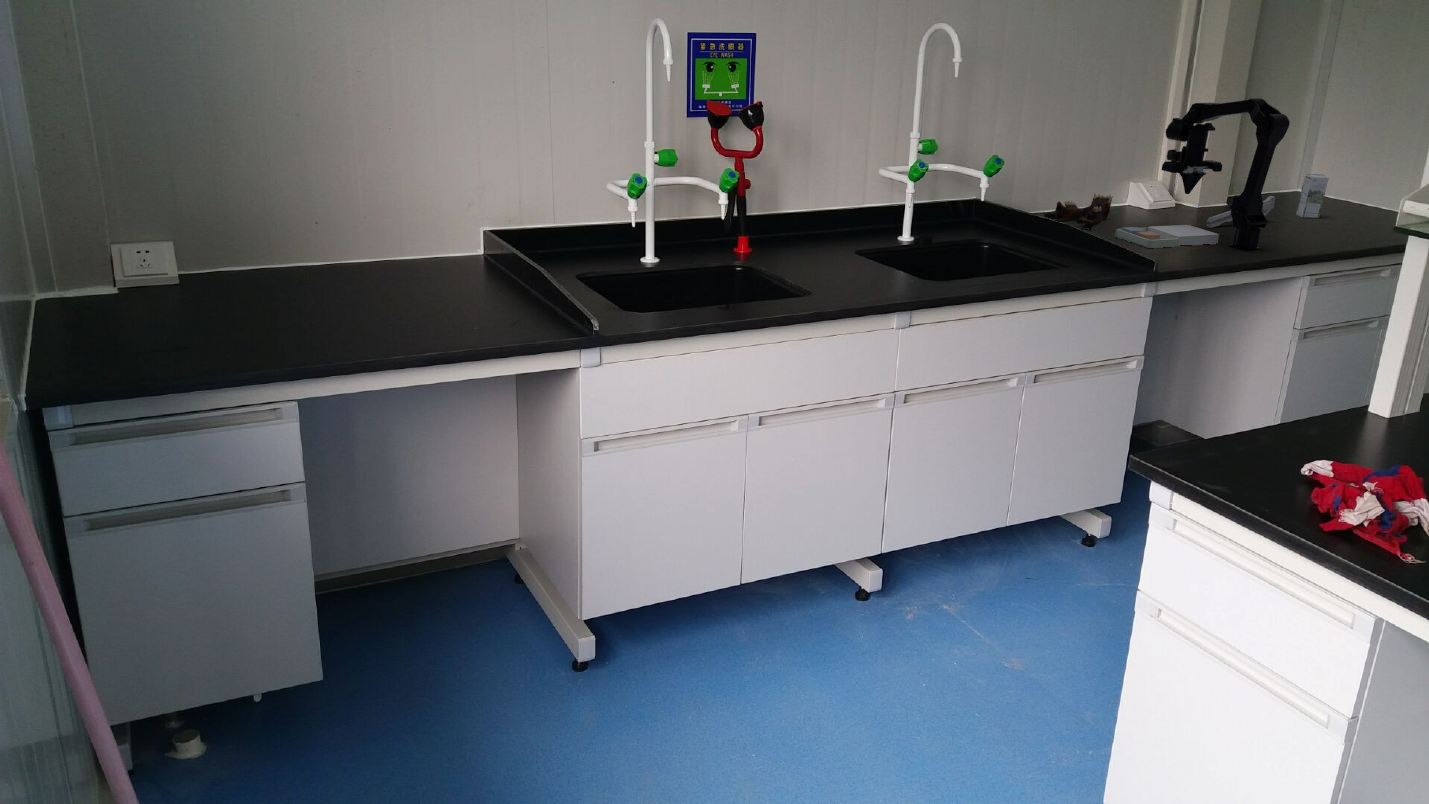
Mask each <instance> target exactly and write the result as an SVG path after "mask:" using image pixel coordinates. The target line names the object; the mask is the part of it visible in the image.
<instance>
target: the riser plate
mask: <svg viewBox="0 0 1429 804" xmlns="http://www.w3.org/2000/svg"><path fill="white" fill-rule="evenodd" d="M1147 231H1151V232H1154V233H1157V234H1160V239H1176V238H1178V239H1179V244H1178V245H1179V246H1178V247H1181V246H1180V245H1192V246H1204V245H1203V244H1210V245H1217V244H1218V241H1219V237H1220V234H1219V233H1216V232H1212V231H1210V230H1206V229H1203V228H1200V227H1196V226H1193V225H1190V224H1177V225H1172V224H1171V225H1154V226H1153V225H1152V226H1148V227H1147ZM1216 243H1217V244H1216Z"/></svg>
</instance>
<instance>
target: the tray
mask: <svg viewBox="0 0 1429 804" xmlns="http://www.w3.org/2000/svg"><path fill="white" fill-rule="evenodd" d="M1139 228H1140V229H1143V230H1146V231H1147V230H1148V227H1139ZM1116 237H1117V239H1120V240H1122V239H1124V240H1123V241H1125V240H1126V241H1125V242H1127V241H1128V243H1130V242H1133V243H1136V244H1139V245H1144V246H1146V247H1147V248H1154V249H1164V248H1163V247H1172V248H1179V246H1178V244H1179V239H1178V238H1176V239H1157V240H1149V239H1146V238H1143V237H1140V236H1137V235H1134V234H1131V233H1128V232H1126V231H1123V230H1122V228H1116V229H1115V232H1114V238H1116ZM1133 243H1132V244H1133ZM1136 244H1135V245H1136ZM1139 245H1138V246H1139ZM1147 248H1146V249H1147Z"/></svg>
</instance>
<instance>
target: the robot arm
mask: <svg viewBox="0 0 1429 804" xmlns="http://www.w3.org/2000/svg"><path fill="white" fill-rule="evenodd" d="M1241 114H1249V118H1250V121H1251V122H1252V123H1253V124H1254V125H1255V127H1256V129H1255V130H1256V131H1255V138H1256V141H1257V142H1256V143H1257V145H1256V149H1255V153H1254V155H1253V158H1252V162H1251V166H1250V169H1249V171H1248V174H1247V178H1246V181H1245V185H1244V188H1243V191H1242V192H1241V193H1240V194H1236V195H1234V196H1233V198H1232V203H1231V206H1230V207H1229V210H1230V211H1231V216H1232V221H1231V222H1232V227H1233V228H1235V229H1236V230H1235V231H1234V232H1235V233H1234V236H1233V241H1232V243H1229V244H1228V245H1230V246H1229V247H1232V246H1233V247H1232V248H1235V247H1236V249H1239V248H1241V249H1240V250H1242V249H1244V250H1243V251H1251V250H1250V249H1257V250H1262V247H1260V246H1258V245H1259V240H1260V235H1261V231H1262V230H1261V229H1265V228H1266V227H1267V225H1268V224H1269V222H1268V220H1267V217H1266V215H1265V216H1264V214H1263V212H1262V208H1263V201H1264V200H1263V196H1262V191H1263V189H1264V185H1265V182H1266V179H1267V175H1268V174H1269V173H1268V172H1269V169H1270V167H1271V163H1272V161H1273V156H1274V155H1275V154H1274V153H1275V151H1276V148H1277V146H1278V145H1279V143H1280V142H1281V141H1282V140H1283V139H1284V137H1285V135H1286V133H1287V132H1288V130H1289V127H1290V120H1289V117H1288V116H1287V115H1286V114H1284V113H1282V112H1281V111H1280V110H1279V109H1277V108H1275V107H1274V106H1272V105H1271V104H1269V103H1268V102H1267V101H1266V100H1265V99H1263V98H1261V97H1257V98H1248V99H1244V100H1239V101H1238V100H1236V101H1230V102H1222V103H1219V102H1196V103H1195V102H1194V103H1192V104H1191V105H1190V107H1189V110H1188V111H1187V112H1186V114H1185V115H1183V117H1182V118H1179V117H1173V118H1172V119H1171V120H1172V121H1171V122H1170V123H1169V124H1168V125H1167V128H1165V137H1166V138H1167V140H1171V141H1177V142H1183V143H1185V142H1186V145H1183V146H1182V148H1181V151H1180V150H1179V151H1177V149H1176V148H1175V149H1168V150H1167V153H1166V160H1167V161H1164V162H1162V165H1161V171H1162V172H1163V171H1164V172H1167V173H1172V174H1179V176H1181V181H1182V185H1183V190H1184V194H1186V195H1190V193H1191V192H1192V191H1193V190H1194V188H1195V186H1196V185H1198V183H1199V181H1201V179H1202V178H1203V177H1204V176H1206V175H1207V172H1205V170H1211V171H1212V172H1214V173H1215V172H1216V173H1219V172H1220V173H1221V172H1222V171H1223V170H1222V169H1223V164H1222V162H1221V161H1216V160H1211V159H1210V160H1209V159H1208V160H1204V158H1205V153H1208V152H1209V148H1208V147H1207V143H1208V136H1209V132H1215V131H1216V127H1215V126H1214V125H1213V124H1212V122H1211V121H1215V120H1218V119H1220V118H1222V117H1224V116H1225V117H1226V116H1232V115H1241ZM1246 249H1247V250H1246ZM1248 249H1249V250H1248Z"/></svg>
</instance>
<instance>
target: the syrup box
mask: <svg viewBox="0 0 1429 804" xmlns="http://www.w3.org/2000/svg"><path fill="white" fill-rule="evenodd" d="M1329 178H1330V177H1328V176H1327V175H1326V174H1323V173H1322V174H1321V173H1320V174H1319V173H1305V174H1304V179H1303V183H1302V186H1301V191H1300V195H1299V200H1298V203H1297V207H1296V213H1295V214H1296V216H1298V217H1300V218H1305V219H1319V218H1320V215H1321V212H1322V207H1323V204H1324V198H1325V194H1326V191H1327V188H1328V183H1329V180H1330V179H1329Z"/></svg>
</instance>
